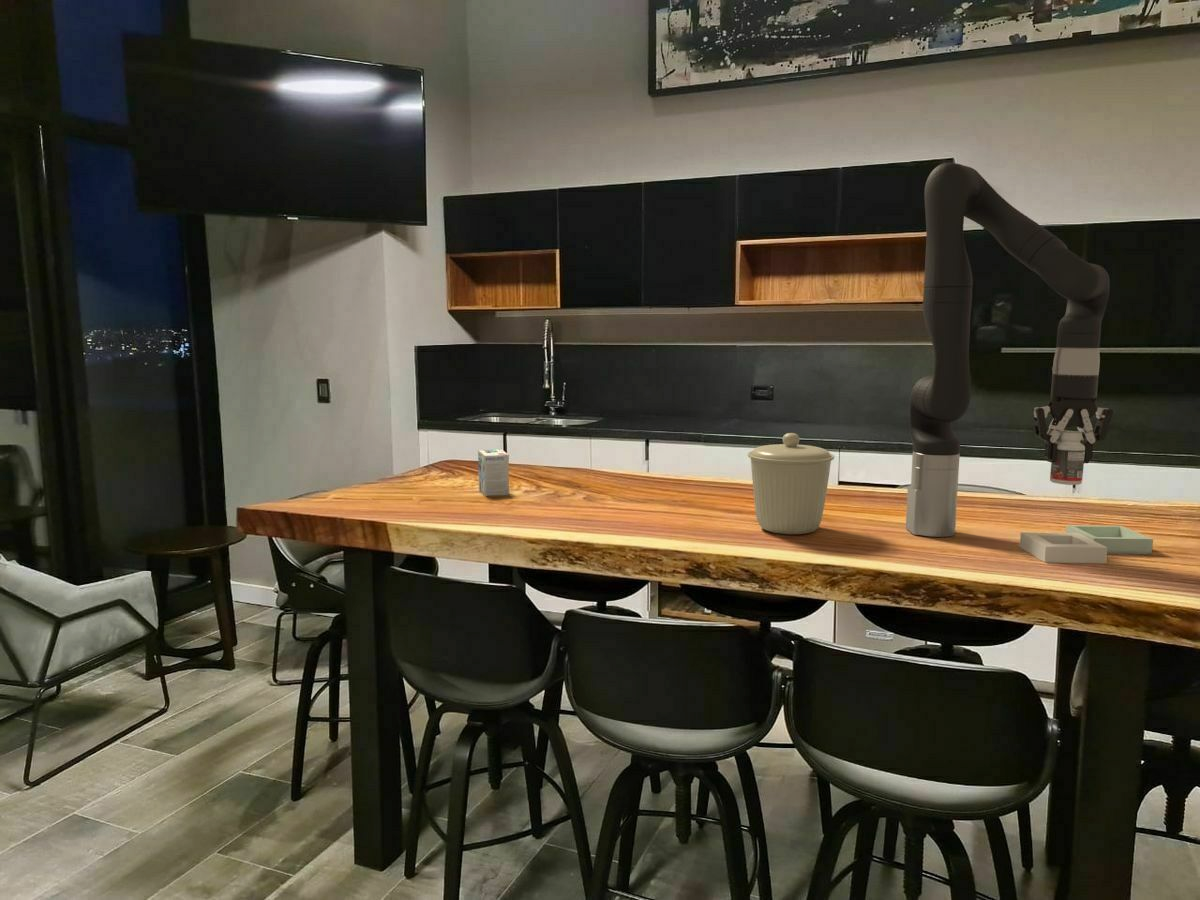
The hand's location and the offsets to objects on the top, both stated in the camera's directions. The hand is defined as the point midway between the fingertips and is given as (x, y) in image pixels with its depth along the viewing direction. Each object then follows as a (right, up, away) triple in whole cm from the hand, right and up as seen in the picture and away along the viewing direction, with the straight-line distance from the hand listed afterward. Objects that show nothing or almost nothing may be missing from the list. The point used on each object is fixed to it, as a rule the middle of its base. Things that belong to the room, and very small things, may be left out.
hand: (1067, 461), depth 160 cm
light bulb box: (-117, -9, +67) cm, 135 cm away
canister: (-47, -15, +24) cm, 55 cm away
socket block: (0, -18, +3) cm, 18 cm away
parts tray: (+13, -17, +9) cm, 23 cm away
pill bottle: (0, -4, +1) cm, 4 cm away
